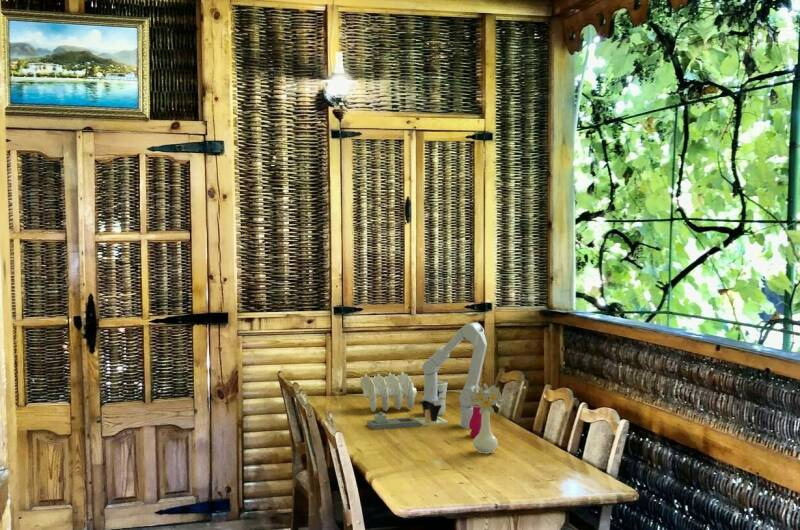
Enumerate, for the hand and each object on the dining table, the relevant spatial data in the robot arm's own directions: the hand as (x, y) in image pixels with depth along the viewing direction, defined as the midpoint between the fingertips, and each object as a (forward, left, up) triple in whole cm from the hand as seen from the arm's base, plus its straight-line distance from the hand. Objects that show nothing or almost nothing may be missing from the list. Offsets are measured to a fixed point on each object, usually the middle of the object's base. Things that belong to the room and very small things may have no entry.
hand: (430, 419), depth 371 cm
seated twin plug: (-2, +24, -1) cm, 24 cm away
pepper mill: (-30, -9, -2) cm, 31 cm away
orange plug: (0, 0, -1) cm, 1 cm away
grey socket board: (-2, +18, -2) cm, 18 cm away
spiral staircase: (+32, +8, -2) cm, 33 cm away
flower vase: (-56, -1, -2) cm, 56 cm away
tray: (0, 0, -2) cm, 2 cm away
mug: (+45, -21, -2) cm, 50 cm away
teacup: (+15, -8, -2) cm, 17 cm away
